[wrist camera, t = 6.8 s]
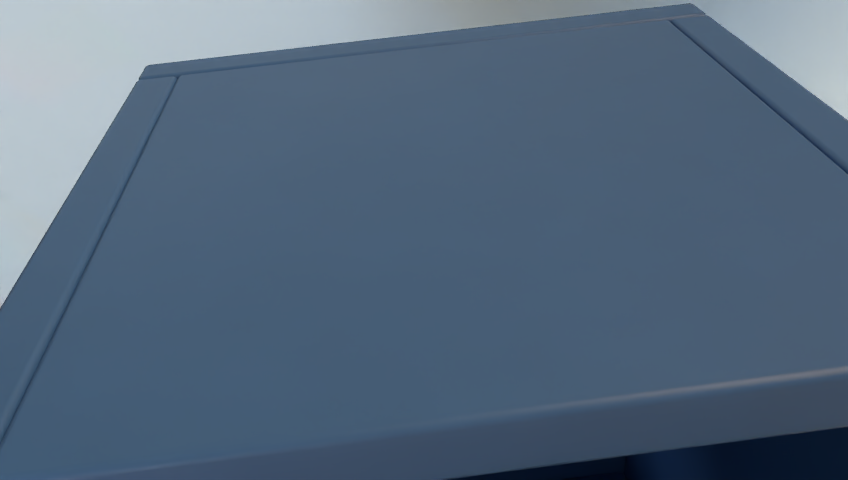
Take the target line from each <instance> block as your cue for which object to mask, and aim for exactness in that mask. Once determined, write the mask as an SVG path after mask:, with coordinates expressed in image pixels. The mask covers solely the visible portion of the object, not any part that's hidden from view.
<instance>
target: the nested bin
mask: <svg viewBox="0 0 848 480" xmlns="http://www.w3.org/2000/svg"><path fill="white" fill-rule="evenodd" d="M0 480H848V120H847V119H845V118H844V117H843V116H841V115H840V114H839V113H837V112H836V111H835V110H833V109H832V108H831V107H829V106H828V105H827V104H825V103H824V102H823V101H821V100H820V99H819V98H817V97H816V96H815V95H813V94H812V93H811V92H809V91H808V90H807V89H805V88H804V87H803V86H801V85H800V84H799V83H797V82H796V81H795V80H793V79H792V78H791V77H789V76H788V75H787V74H785V73H784V72H783V71H781V70H780V69H779V68H777V67H776V66H775V65H773V64H772V63H771V62H769V61H768V60H767V59H765V58H764V57H763V56H761V55H760V54H759V53H757V52H756V51H755V50H753V49H752V48H751V47H749V46H748V45H747V44H745V43H744V42H742V41H741V40H740V39H738V38H737V37H736V36H734V35H733V34H732V33H730V32H729V31H728V30H726V29H725V28H724V27H722V26H721V25H720V24H718V23H717V22H716V21H714V20H713V19H712V18H710V17H709V16H706V15H705V13H704V12H702V11H701V10H700V9H698V8H697V7H696V6H694V5H693V4H690V3H689V4H680V5H671V6H663V7H654V8H645V9H636V10H627V11H619V12H610V13H601V14H592V15H584V16H575V17H566V18H557V19H549V20H540V21H531V22H522V23H513V24H505V25H496V26H487V27H478V28H470V29H461V30H452V31H443V32H434V33H426V34H417V35H408V36H399V37H391V38H382V39H373V40H364V41H356V42H347V43H338V44H329V45H320V46H312V47H303V48H294V49H285V50H277V51H268V52H259V53H250V54H241V55H233V56H224V57H215V58H206V59H198V60H189V61H180V62H171V63H163V64H154V65H148V66H146V67H145V69H144V71H143V72H142V74H141V76H140V77H139V81H138V82H136V84H135V86H134V87H133V89H132V91H131V92H130V94H129V96H128V97H127V99H126V101H125V102H124V104H123V106H122V107H121V109H120V111H119V112H118V114H117V116H116V117H115V119H114V121H113V122H112V124H111V126H110V127H109V129H108V131H107V132H106V134H105V136H104V137H103V139H102V140H101V142H100V144H99V145H98V147H97V149H96V150H95V152H94V154H93V155H92V157H91V159H90V160H89V162H88V164H87V165H86V167H85V169H84V170H83V172H82V174H81V175H80V177H79V179H78V180H77V182H76V184H75V185H74V187H73V189H72V190H71V192H70V194H69V195H68V197H67V199H66V200H65V202H64V204H63V205H62V207H61V209H60V210H59V212H58V214H57V215H56V217H55V219H54V220H53V222H52V223H51V225H50V227H49V228H48V230H47V232H46V233H45V235H44V237H43V238H42V240H41V242H40V243H39V245H38V247H37V248H36V250H35V252H34V253H33V255H32V257H31V258H30V260H29V262H28V263H27V265H26V267H25V268H24V270H23V272H22V273H21V275H20V277H19V278H18V280H17V282H16V283H15V285H14V287H13V288H12V290H11V292H10V293H9V295H8V297H7V298H6V300H5V302H4V303H3V305H2V306H1V308H0Z"/></svg>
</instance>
